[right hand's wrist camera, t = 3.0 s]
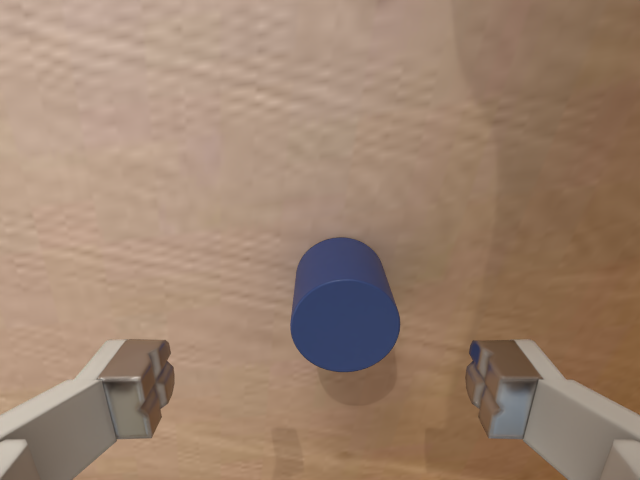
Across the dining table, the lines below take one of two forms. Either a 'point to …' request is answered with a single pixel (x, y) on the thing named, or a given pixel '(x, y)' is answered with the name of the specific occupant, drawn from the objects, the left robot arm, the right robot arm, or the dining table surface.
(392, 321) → the cylinder
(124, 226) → the dining table surface
